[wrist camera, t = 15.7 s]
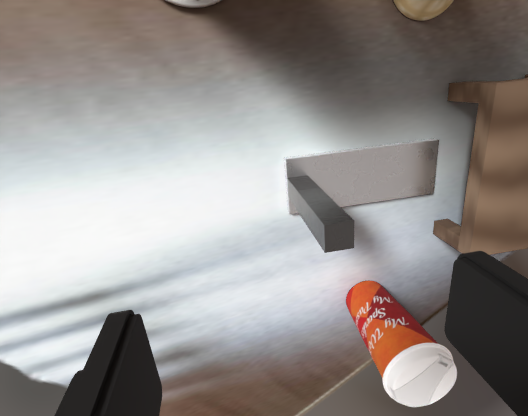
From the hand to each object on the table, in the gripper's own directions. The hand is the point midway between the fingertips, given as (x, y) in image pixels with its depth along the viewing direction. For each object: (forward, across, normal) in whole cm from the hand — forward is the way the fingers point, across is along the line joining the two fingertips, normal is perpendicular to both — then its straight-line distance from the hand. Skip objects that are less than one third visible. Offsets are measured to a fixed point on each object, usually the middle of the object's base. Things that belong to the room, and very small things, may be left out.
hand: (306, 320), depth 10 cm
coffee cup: (+31, -16, +25) cm, 43 cm away
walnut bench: (+30, -32, +6) cm, 44 cm away
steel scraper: (+31, -15, +6) cm, 35 cm away
